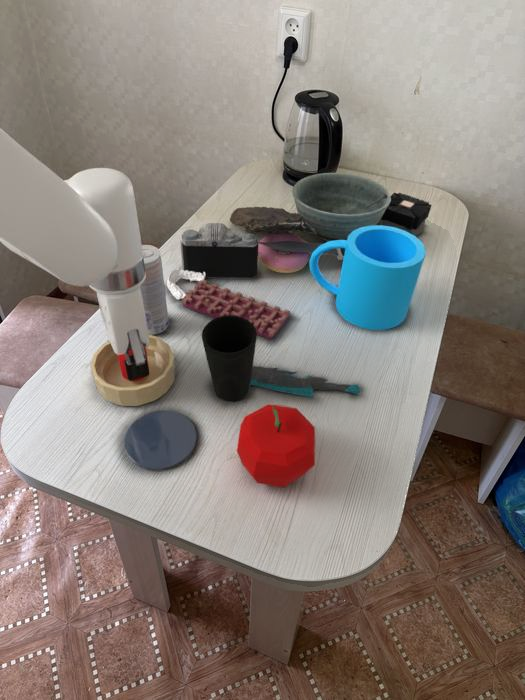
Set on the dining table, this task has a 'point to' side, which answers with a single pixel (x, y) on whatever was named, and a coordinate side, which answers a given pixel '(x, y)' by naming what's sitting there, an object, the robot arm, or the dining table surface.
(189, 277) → the false teeth
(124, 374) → the red cylinder
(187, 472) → the dining table surface
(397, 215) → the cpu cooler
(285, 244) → the knife
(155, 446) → the dark grey coaster
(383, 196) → the screw
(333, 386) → the knife
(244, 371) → the cup
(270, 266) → the doughnut
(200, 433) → the dining table surface
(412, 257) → the mug
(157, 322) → the beverage can
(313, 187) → the bowl
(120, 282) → the robot arm
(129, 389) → the serving bowl
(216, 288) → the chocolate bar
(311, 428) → the apple
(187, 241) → the camera
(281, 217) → the rock
